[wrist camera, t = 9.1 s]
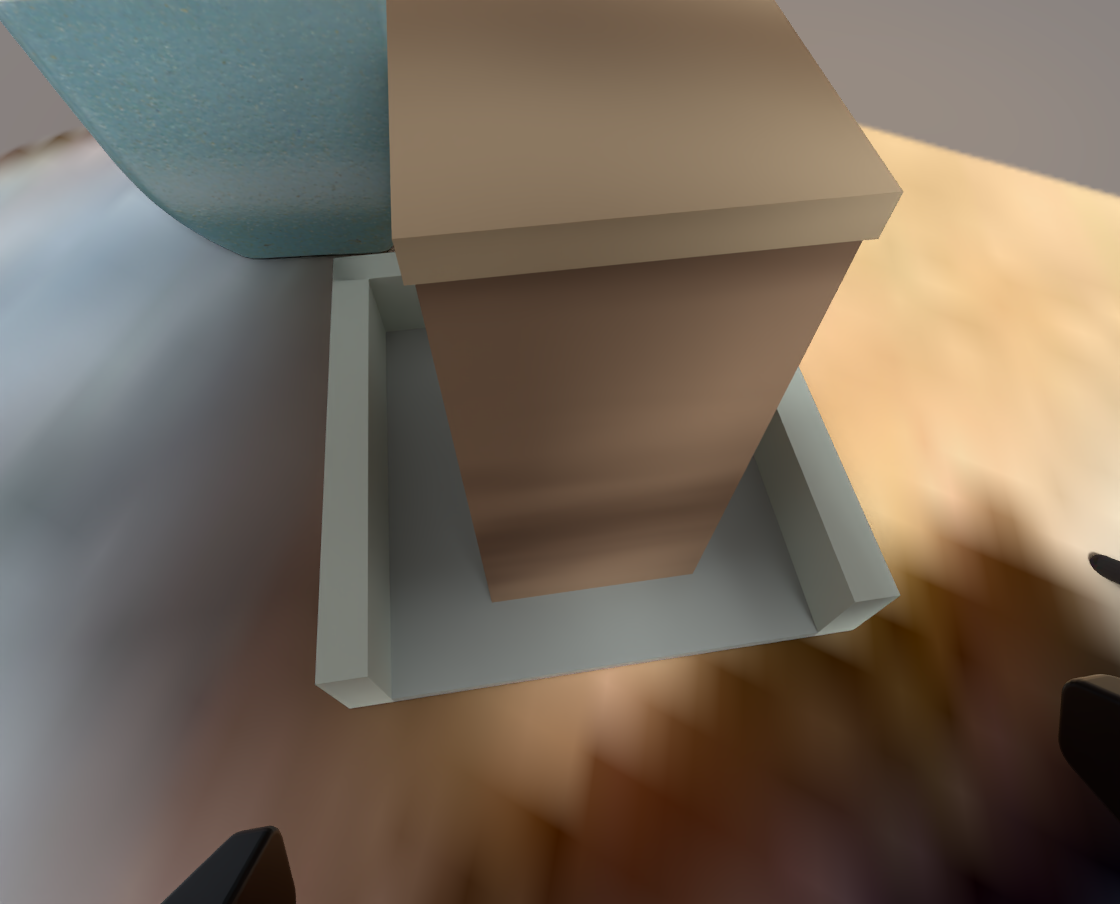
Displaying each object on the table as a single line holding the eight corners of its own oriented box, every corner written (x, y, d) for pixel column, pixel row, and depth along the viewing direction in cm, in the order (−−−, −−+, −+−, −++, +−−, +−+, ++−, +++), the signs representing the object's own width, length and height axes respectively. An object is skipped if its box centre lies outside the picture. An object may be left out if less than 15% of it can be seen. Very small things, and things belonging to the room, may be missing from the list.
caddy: (697, 577, 16) (903, 191, 7) (488, 606, 16) (391, 238, 6) (635, 355, 20) (712, -92, 10) (465, 373, 19) (384, -76, 10)
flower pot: (449, 135, 26) (407, -161, 18) (451, 290, 22) (396, -17, 14) (226, 145, 26) (88, -155, 18) (180, 308, 21) (-32, -2, 13)
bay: (852, 630, 16) (900, 595, 14) (349, 708, 15) (315, 684, 12) (715, 281, 22) (733, 219, 20) (355, 318, 21) (333, 257, 19)
